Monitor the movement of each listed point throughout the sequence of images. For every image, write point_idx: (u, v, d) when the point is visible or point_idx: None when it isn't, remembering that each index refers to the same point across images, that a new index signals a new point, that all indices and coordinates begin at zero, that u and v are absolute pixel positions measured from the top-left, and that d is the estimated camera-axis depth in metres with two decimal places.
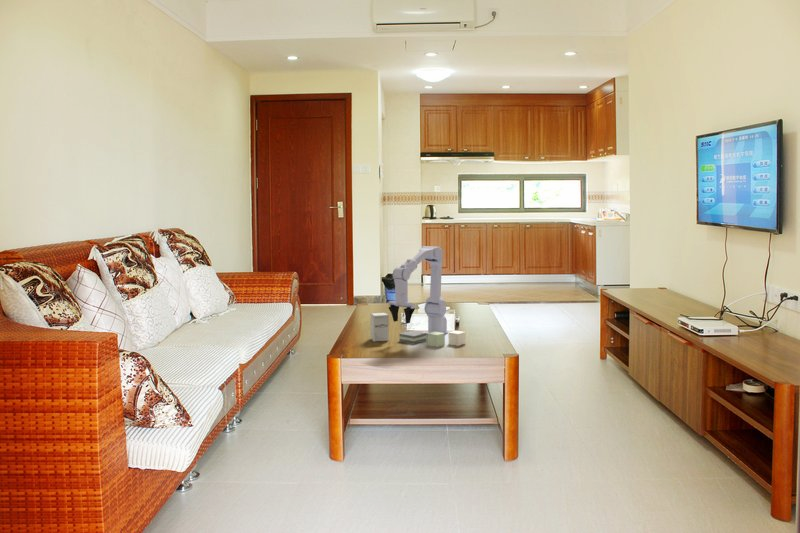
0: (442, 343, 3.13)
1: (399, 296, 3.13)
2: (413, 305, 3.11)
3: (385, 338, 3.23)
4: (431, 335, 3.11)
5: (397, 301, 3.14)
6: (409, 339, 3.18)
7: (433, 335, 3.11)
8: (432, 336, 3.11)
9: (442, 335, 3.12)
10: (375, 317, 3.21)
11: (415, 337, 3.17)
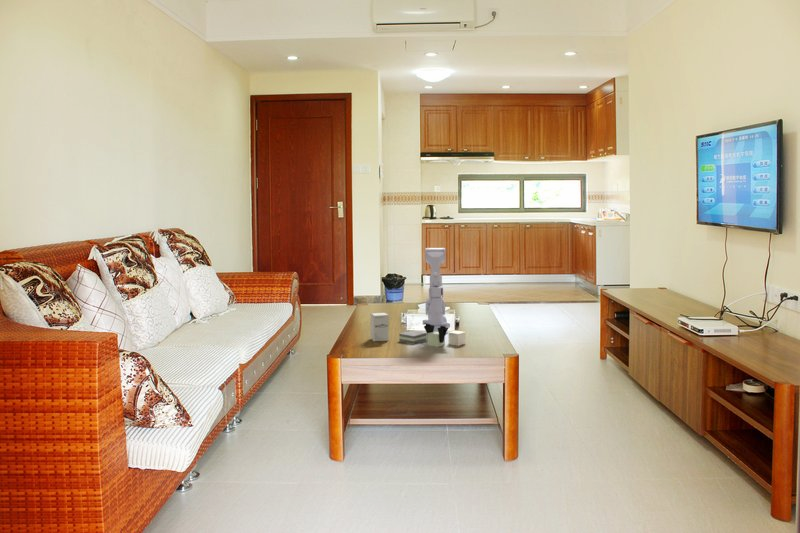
0: (442, 343, 3.13)
1: (434, 315, 3.10)
2: (448, 324, 3.08)
3: (385, 338, 3.23)
4: (431, 335, 3.11)
5: (432, 320, 3.10)
6: (408, 339, 3.18)
7: (433, 335, 3.11)
8: (432, 336, 3.11)
9: None
10: (375, 317, 3.21)
11: (415, 337, 3.17)
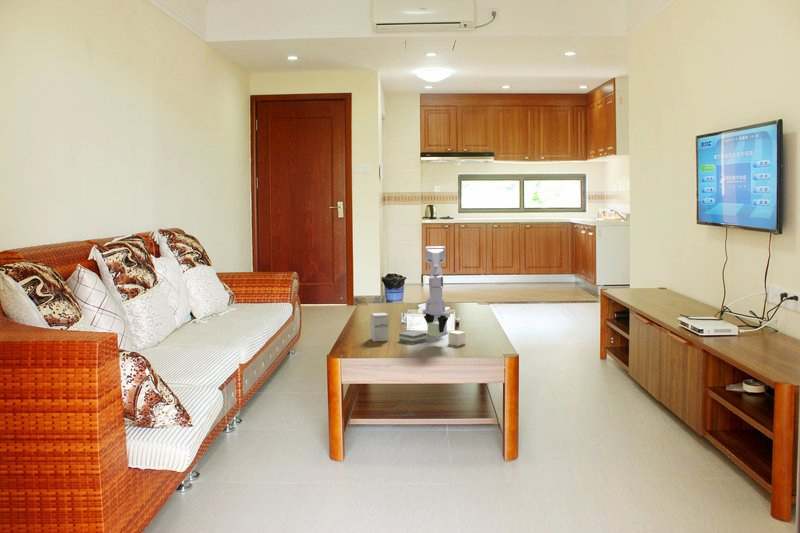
0: (442, 333, 3.12)
1: (434, 305, 3.09)
2: (448, 314, 3.07)
3: (385, 338, 3.23)
4: (431, 325, 3.11)
5: (432, 310, 3.10)
6: (408, 339, 3.18)
7: (433, 325, 3.10)
8: (432, 326, 3.11)
9: None
10: (375, 317, 3.21)
11: (415, 337, 3.17)
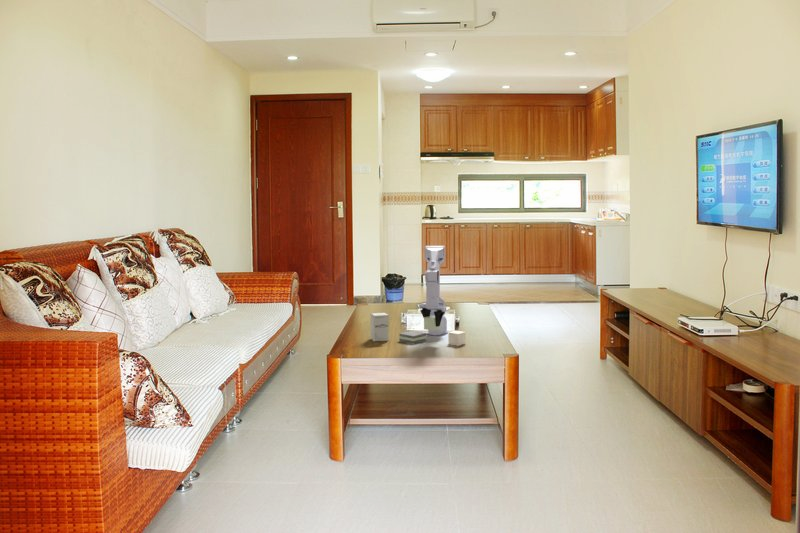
0: (438, 327, 3.13)
1: (430, 299, 3.10)
2: (445, 308, 3.09)
3: (385, 338, 3.23)
4: (427, 319, 3.12)
5: (428, 304, 3.11)
6: (408, 339, 3.18)
7: (429, 319, 3.11)
8: (428, 320, 3.12)
9: None
10: (375, 317, 3.21)
11: (415, 337, 3.17)
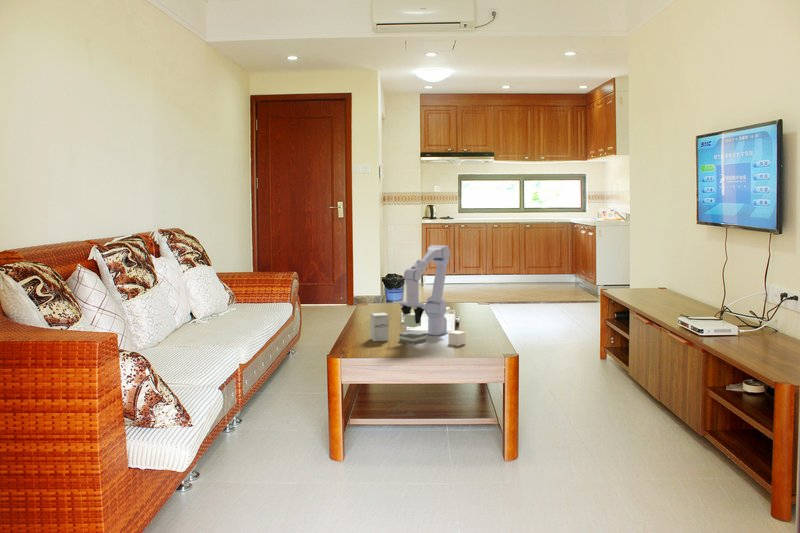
0: (418, 324, 3.21)
1: (410, 297, 3.18)
2: (424, 305, 3.16)
3: (385, 338, 3.23)
4: (408, 316, 3.20)
5: (408, 302, 3.19)
6: (408, 339, 3.18)
7: (409, 316, 3.19)
8: (408, 317, 3.19)
9: None
10: (375, 317, 3.21)
11: (414, 337, 3.17)
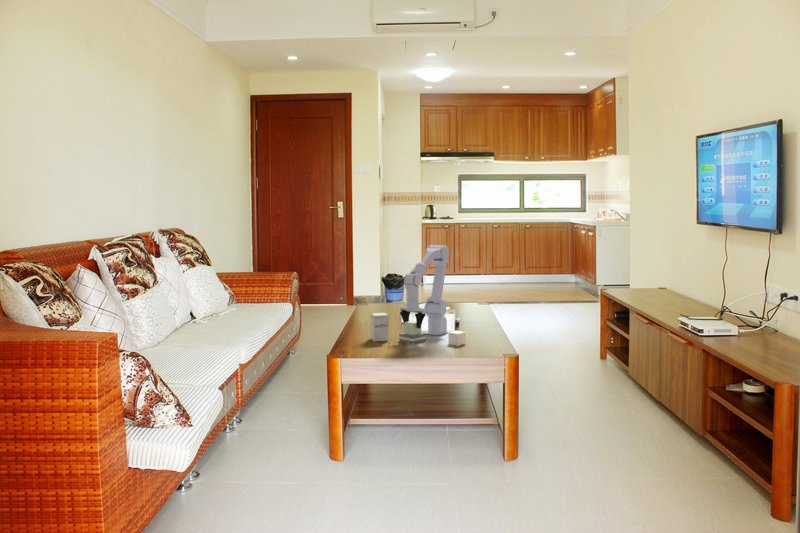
0: (418, 331, 3.21)
1: (410, 301, 3.18)
2: (424, 310, 3.17)
3: (385, 338, 3.23)
4: (408, 323, 3.20)
5: (408, 306, 3.19)
6: (408, 339, 3.18)
7: (410, 323, 3.19)
8: (409, 324, 3.20)
9: None
10: (375, 317, 3.21)
11: (414, 337, 3.17)
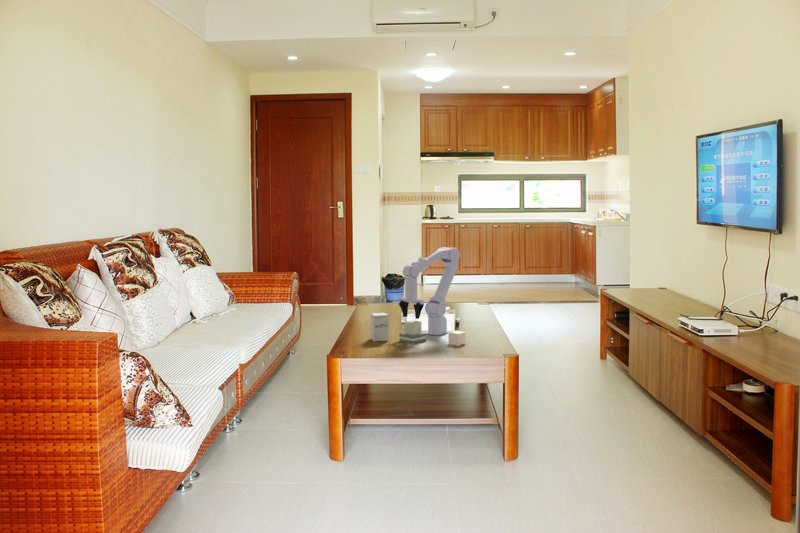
0: (419, 331, 3.21)
1: (409, 292, 3.25)
2: (422, 301, 3.23)
3: (385, 338, 3.23)
4: (408, 323, 3.20)
5: (407, 297, 3.26)
6: (408, 339, 3.18)
7: (410, 323, 3.19)
8: (409, 324, 3.20)
9: (419, 323, 3.21)
10: (375, 317, 3.21)
11: (414, 337, 3.17)
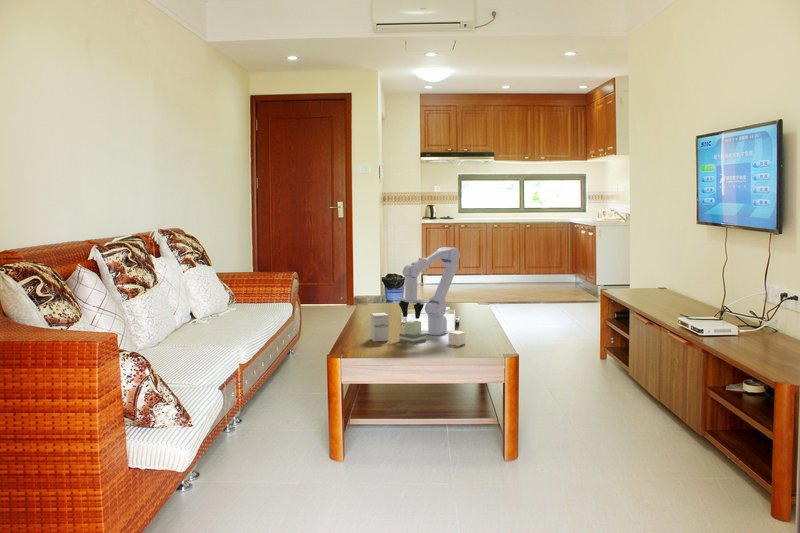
0: (419, 331, 3.22)
1: (409, 292, 3.25)
2: (422, 301, 3.23)
3: (385, 338, 3.23)
4: (408, 323, 3.20)
5: (407, 297, 3.26)
6: (408, 339, 3.18)
7: (410, 323, 3.19)
8: (409, 324, 3.20)
9: (419, 323, 3.21)
10: (375, 317, 3.21)
11: (414, 337, 3.17)
